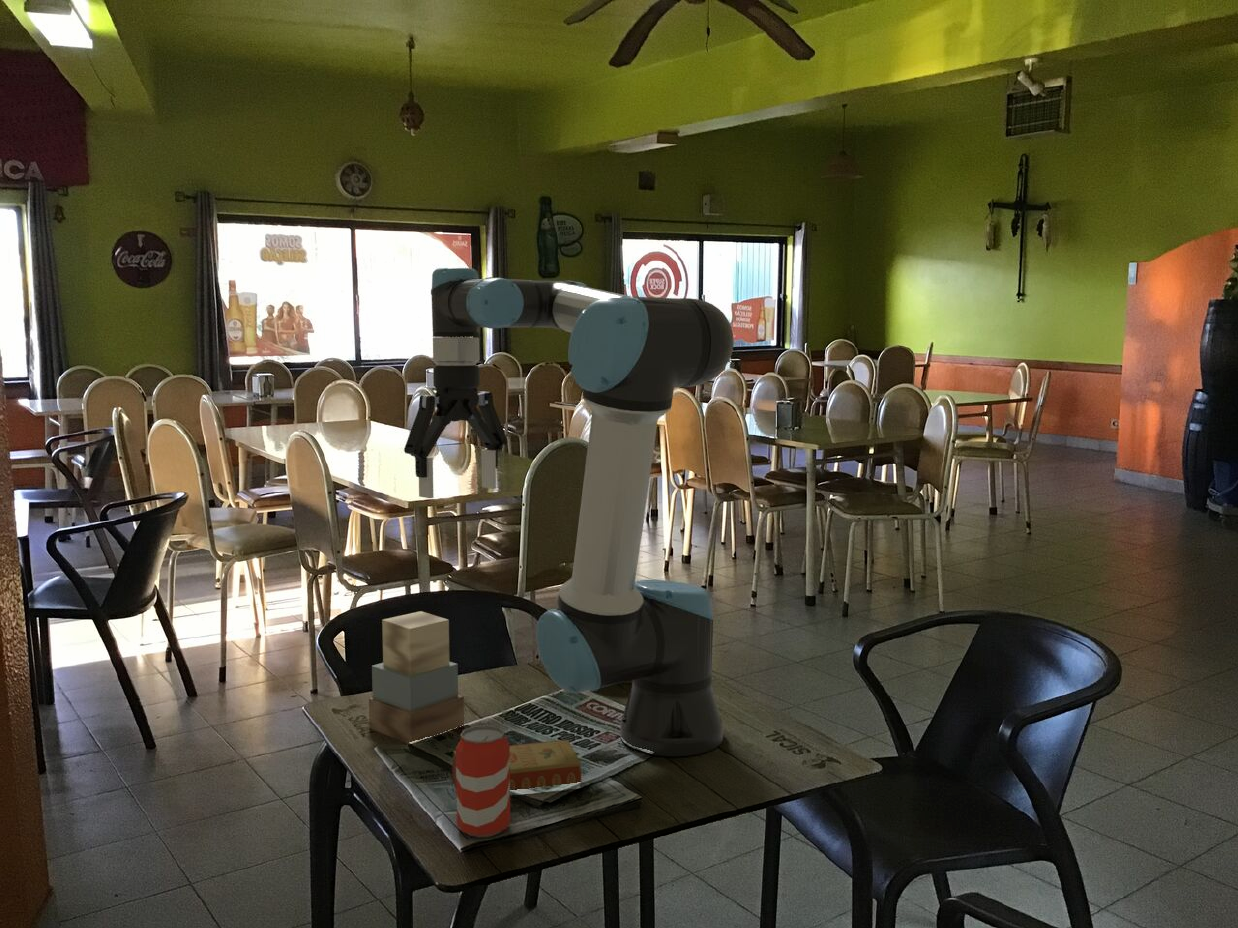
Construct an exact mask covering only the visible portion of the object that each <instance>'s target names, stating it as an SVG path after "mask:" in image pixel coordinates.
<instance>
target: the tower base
mask: <svg viewBox="0 0 1238 928" xmlns="http://www.w3.org/2000/svg"><path fill="white" fill-rule="evenodd" d="M464 697H465V696H464V695H461V694H458V696H457V697H454V698H451V699H448V700H445V701H442V702H439V703H436V704H433V705H430V706H427V707H424V708H421V709H418V710H415V711H412V712H410V711H407V710H404V709H402V708H399V707H396V706H393V705H391V704H388V703H385V702H382V701H380V700H377V699H374V698H373V696H372V697H369V698H368V719H369V720H368V722H369V724H368V725H369V726H368V727H369V729H371V730H372V731H375V732H378V733H381V734H383V735H385V736H387V737H390V738H393V739H396V740H398V741H400V742H402V743H406V744H408V743H409V742H412V741H415V740H420V739H423V738H425V737H430V736H434V735H437V734H440V733H443V732H445V731H448V730H450V729H454V728H456V727H460V726H462V725H464V726H465V707H464V706H465V705H464V704H465V701H464V699H465V698H464ZM460 728H461V727H460Z"/></svg>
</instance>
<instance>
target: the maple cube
mask: <svg viewBox="0 0 1238 928" xmlns="http://www.w3.org/2000/svg"><path fill="white" fill-rule="evenodd" d="M381 623H382V624H381V625H382V663H383V665H384V666H387V667H389V668H392V669H395V670H397V671H400V672H402V673H405V674H408V675H410V676H411V675H415V674H418V673H422V672H426V671H430V670H433V669H437V668H441V667H444V666H448V665H449V662H450V621H449V619H447V618H444V617H441V616H438V615H435V614H431V613H429V612H425V611H422V610H421V611H416V612H411V613H407V614H402V615H397V616H393V617H389V618H384V619H381Z"/></svg>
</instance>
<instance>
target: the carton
mask: <svg viewBox="0 0 1238 928" xmlns="http://www.w3.org/2000/svg"><path fill="white" fill-rule="evenodd" d="M509 745H510V744H509ZM451 764H452V765H451V768H452V770H451V773H452V774H451V775H452V779H453V784H454V786H455V790H456V791H457V788H456V750H453V755H452V763H451ZM577 782H581V783H582V765H581V761H580V759H579V757H578V755H577V754H576V751H575V750H574V748H573V746H572V745H571V743H570V741H569V740H568V739H560V740H557V739H556V740H550V741H540V742H529V743H521V744H519V743H518V744H512V745H510V790H517V789H529V788H535V787H543V786H553V785H561V784H570V783H577Z"/></svg>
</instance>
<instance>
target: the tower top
mask: <svg viewBox="0 0 1238 928" xmlns="http://www.w3.org/2000/svg"><path fill="white" fill-rule="evenodd" d="M458 665H459V664H458V663H455V662H452V661H449V665H448V666H444V667H441V668H437V669H433V670H430V671H426V672H422V673H418V674H415V675H411V676H410V675H408V674H405V673H402V672H400V671H397V670H395V669H392V668H389V667H387V666H384V665H383V662H381V663H377V664H374V665H371V679H372V680H371V681H372V682H371V683H372V697H373V698H374V699H377V700H380V701H382V702H385V703H388V704H391V705H393V706H396V707H399V708H402V709H404V710H407V711H410V712H412V711H415V710H418V709H421V708H424V707H427V706H430V705H433V704H436V703H439V702H442V701H445V700H448V699H451V698H454V697H457V696H458V695H459V675H458V674H459V672H458V671H459V669H458V667H459V666H458Z"/></svg>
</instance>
